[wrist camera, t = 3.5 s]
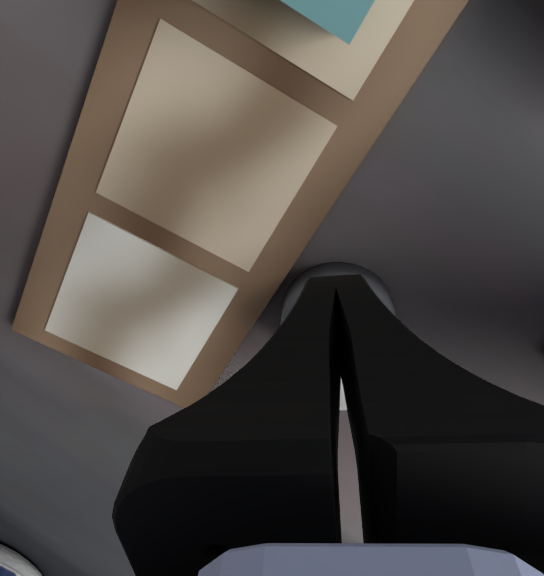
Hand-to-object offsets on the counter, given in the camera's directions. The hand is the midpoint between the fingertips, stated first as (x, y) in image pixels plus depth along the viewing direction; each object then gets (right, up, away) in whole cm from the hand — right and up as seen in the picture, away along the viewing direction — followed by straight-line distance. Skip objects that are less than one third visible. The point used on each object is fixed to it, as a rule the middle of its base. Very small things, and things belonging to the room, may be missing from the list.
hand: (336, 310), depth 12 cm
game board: (-4, +6, +7) cm, 10 cm away
